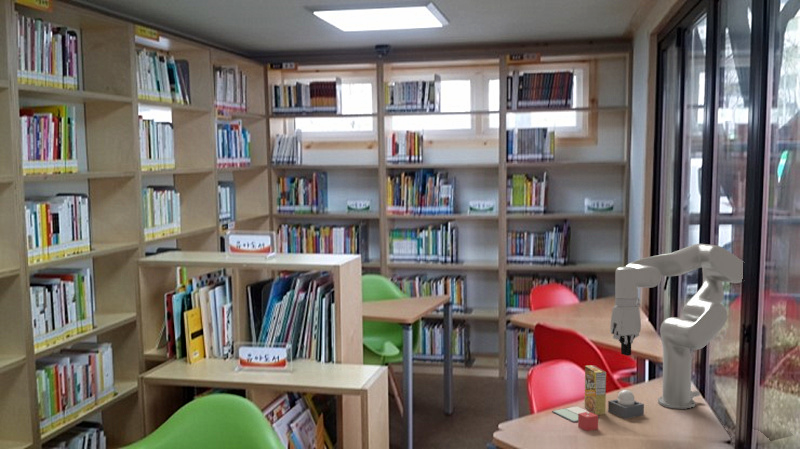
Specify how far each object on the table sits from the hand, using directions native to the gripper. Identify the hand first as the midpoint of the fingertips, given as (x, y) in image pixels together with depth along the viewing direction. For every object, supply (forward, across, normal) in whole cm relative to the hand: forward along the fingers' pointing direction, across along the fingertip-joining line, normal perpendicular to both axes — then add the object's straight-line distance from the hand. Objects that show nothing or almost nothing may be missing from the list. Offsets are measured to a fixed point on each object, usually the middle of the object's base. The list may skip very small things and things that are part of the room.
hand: (626, 354), depth 246 cm
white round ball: (+18, 0, 0) cm, 18 cm away
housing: (+21, 0, 0) cm, 21 cm away
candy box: (+21, +8, -7) cm, 24 cm away
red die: (+21, +21, +5) cm, 30 cm away
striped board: (+21, +16, -7) cm, 28 cm away
